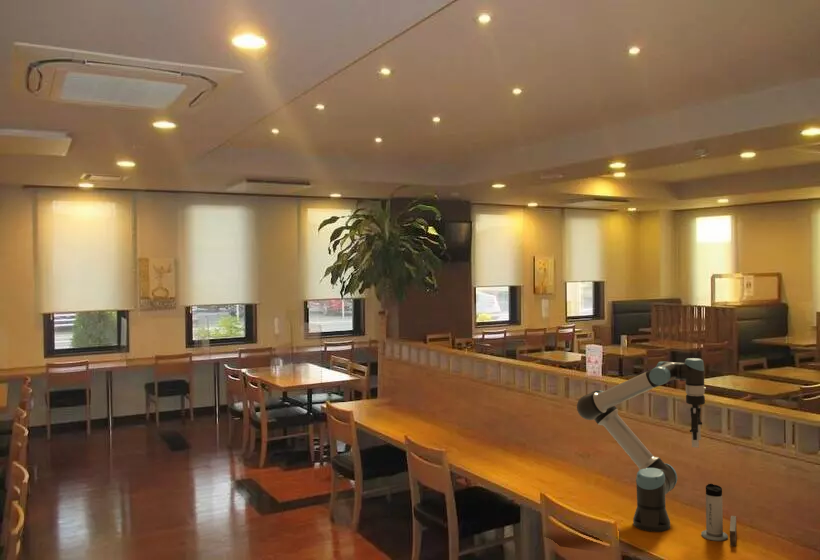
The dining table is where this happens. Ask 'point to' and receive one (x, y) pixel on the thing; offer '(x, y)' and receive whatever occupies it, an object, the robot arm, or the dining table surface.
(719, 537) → the slate saucer
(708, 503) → the travel mug
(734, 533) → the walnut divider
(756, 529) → the dining table surface
